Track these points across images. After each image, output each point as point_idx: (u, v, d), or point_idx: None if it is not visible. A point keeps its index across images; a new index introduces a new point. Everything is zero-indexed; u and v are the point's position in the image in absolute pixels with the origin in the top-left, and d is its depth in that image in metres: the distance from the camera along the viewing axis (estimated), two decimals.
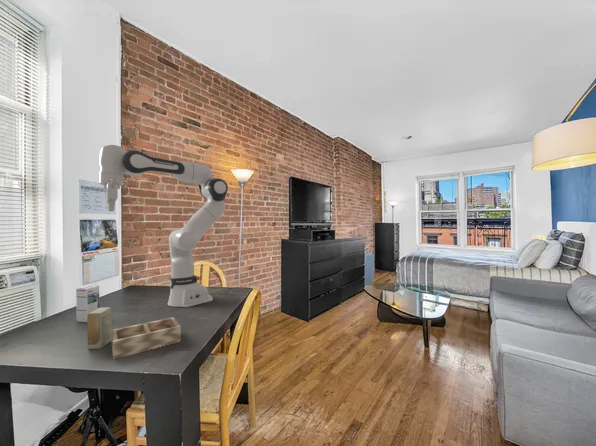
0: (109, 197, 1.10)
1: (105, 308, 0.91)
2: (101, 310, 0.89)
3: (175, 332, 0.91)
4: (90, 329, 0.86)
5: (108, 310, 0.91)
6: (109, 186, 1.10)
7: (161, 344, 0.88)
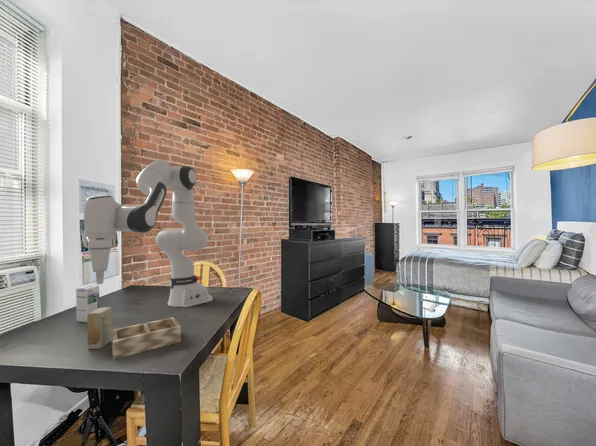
0: None
1: (105, 308, 0.91)
2: (101, 310, 0.89)
3: (175, 332, 0.91)
4: (90, 329, 0.86)
5: (108, 310, 0.91)
6: None
7: (161, 344, 0.88)
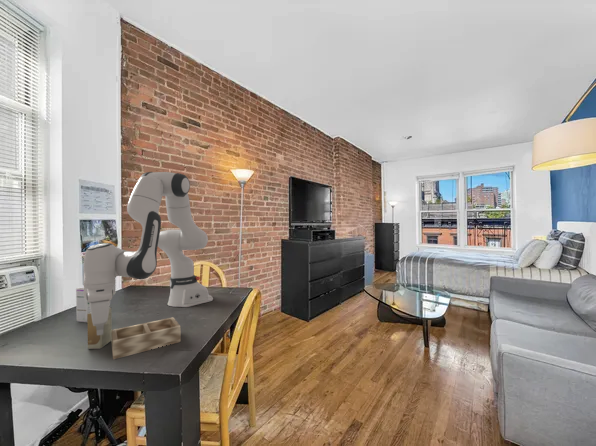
0: None
1: None
2: None
3: (175, 332, 0.91)
4: (90, 329, 0.86)
5: None
6: None
7: (161, 344, 0.88)
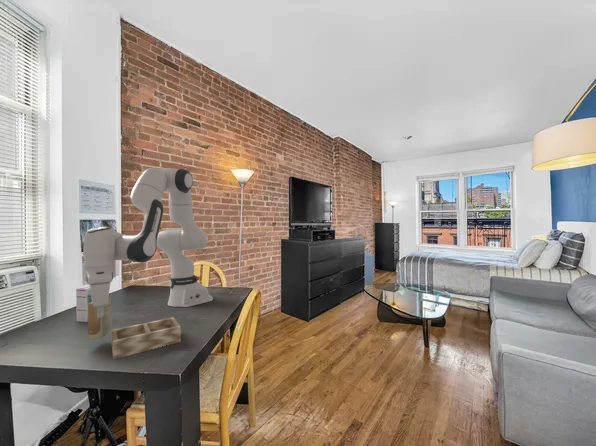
0: None
1: None
2: None
3: (175, 332, 0.91)
4: (90, 319, 0.87)
5: (108, 301, 0.91)
6: None
7: (161, 344, 0.88)
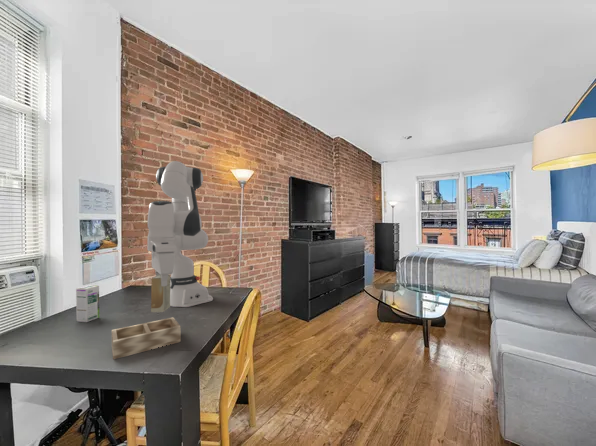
0: None
1: None
2: None
3: (175, 332, 0.91)
4: (154, 293, 0.90)
5: (168, 277, 0.95)
6: None
7: (161, 344, 0.88)
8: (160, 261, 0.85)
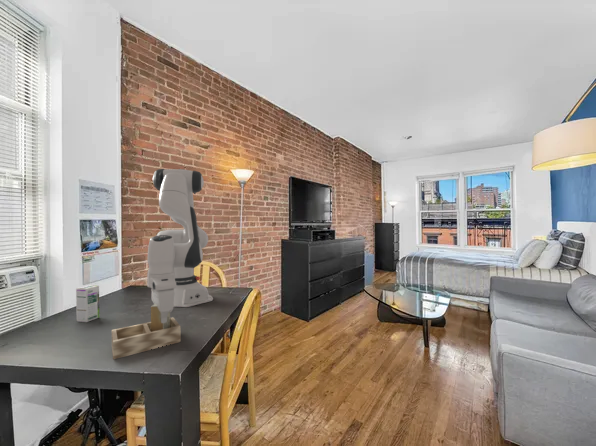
0: None
1: None
2: None
3: (175, 332, 0.91)
4: (153, 321, 0.90)
5: None
6: None
7: (161, 344, 0.88)
8: (160, 299, 0.84)
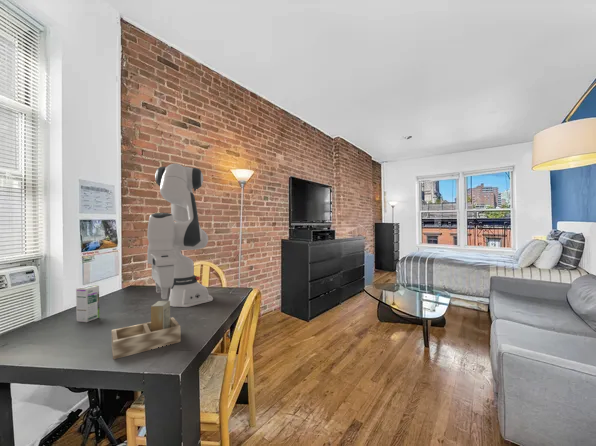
0: None
1: (165, 301, 0.95)
2: (162, 303, 0.93)
3: (175, 332, 0.91)
4: (153, 321, 0.90)
5: (168, 303, 0.94)
6: None
7: (161, 344, 0.88)
8: (160, 275, 0.85)
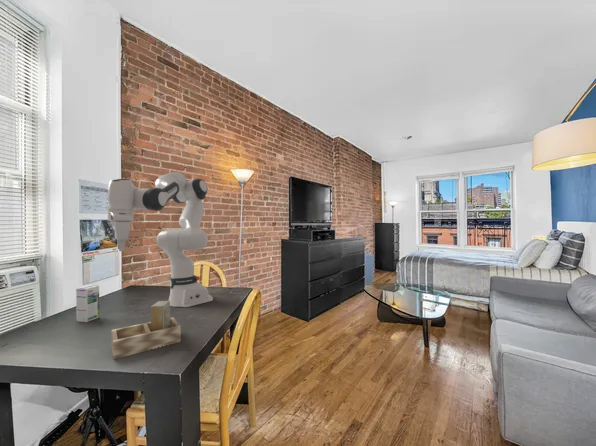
0: None
1: (165, 301, 0.94)
2: (162, 303, 0.93)
3: (175, 332, 0.91)
4: (153, 321, 0.90)
5: (168, 303, 0.94)
6: None
7: (161, 344, 0.88)
8: (116, 228, 0.99)
